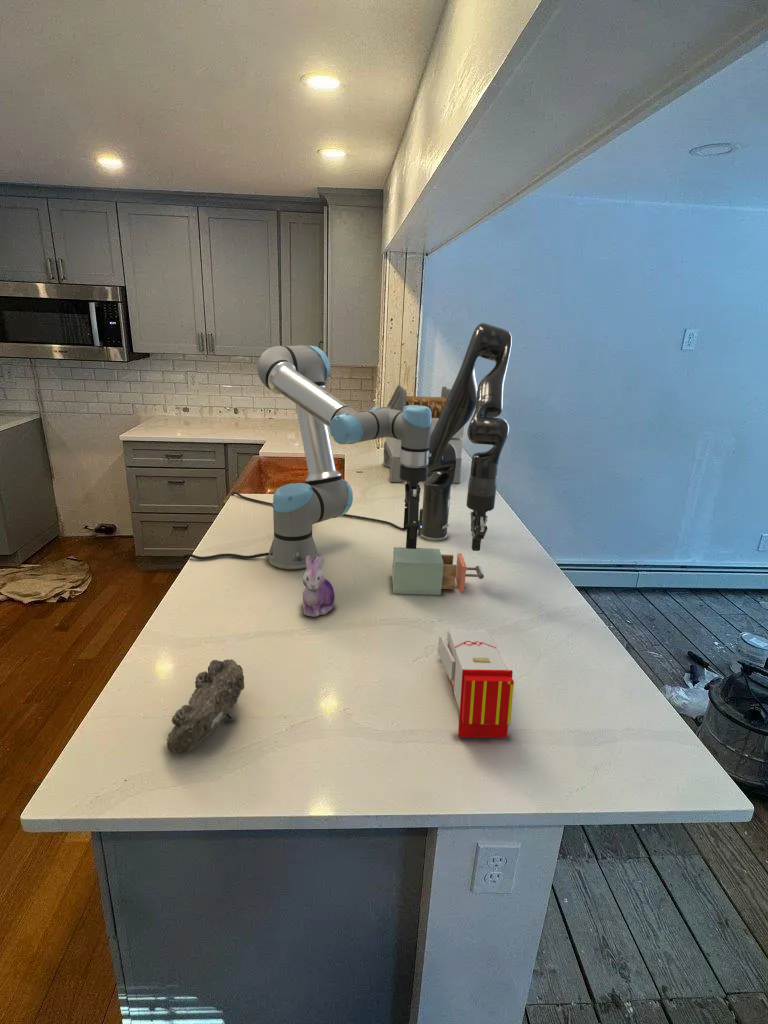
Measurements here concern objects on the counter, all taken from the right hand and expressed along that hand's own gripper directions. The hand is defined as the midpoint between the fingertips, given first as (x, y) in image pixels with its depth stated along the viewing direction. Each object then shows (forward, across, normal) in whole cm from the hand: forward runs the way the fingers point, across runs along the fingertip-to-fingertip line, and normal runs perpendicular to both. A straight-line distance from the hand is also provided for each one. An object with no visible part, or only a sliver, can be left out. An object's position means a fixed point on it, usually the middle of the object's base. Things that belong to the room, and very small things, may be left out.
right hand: (475, 549), depth 159 cm
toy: (+12, -48, +8) cm, 50 cm away
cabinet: (+12, 0, +16) cm, 20 cm away
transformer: (+12, +119, +6) cm, 120 cm away
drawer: (+11, 0, +6) cm, 13 cm away
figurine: (+12, -15, +43) cm, 47 cm away
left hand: (-3, 0, +19) cm, 19 cm away
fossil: (+12, -57, +59) cm, 83 cm away
